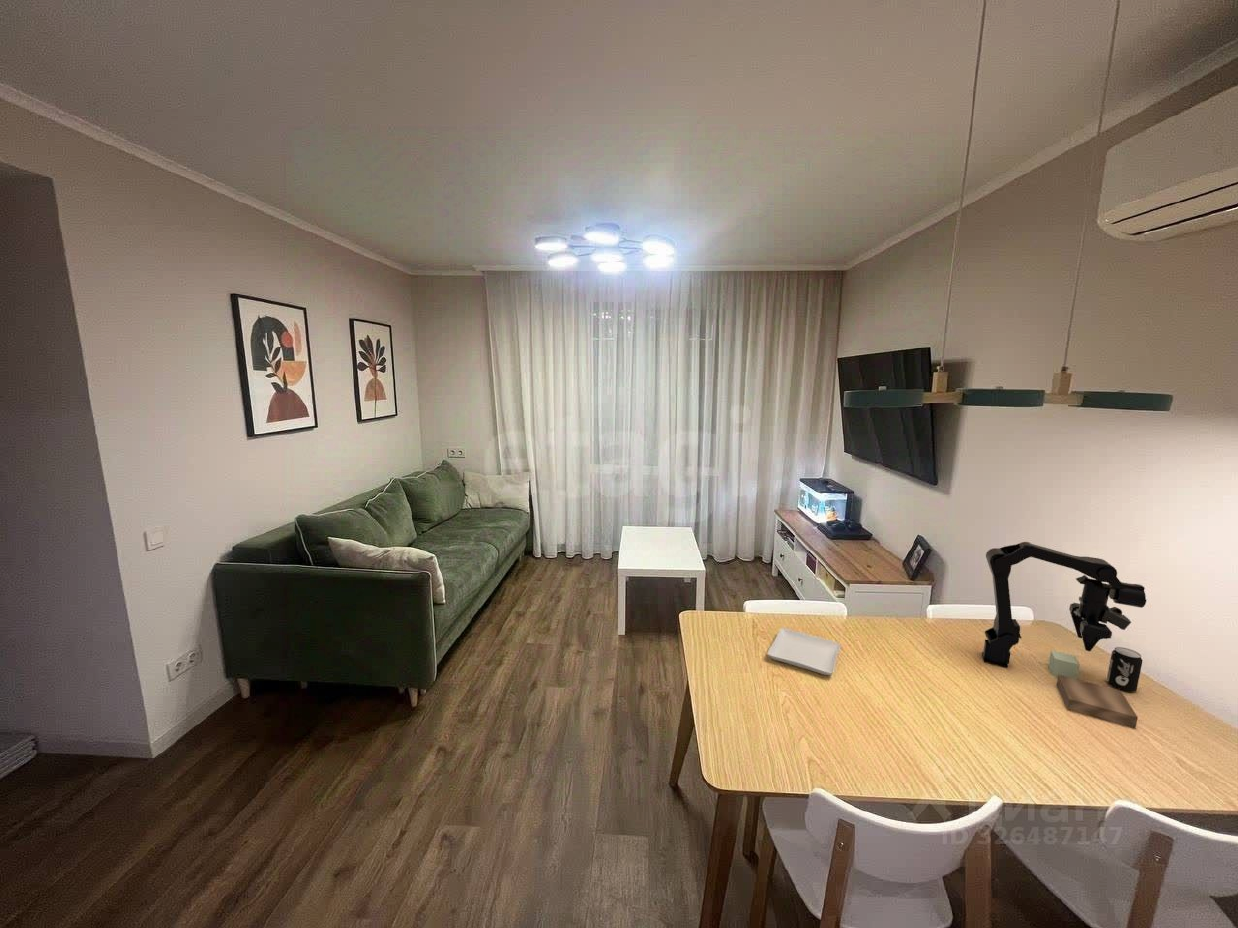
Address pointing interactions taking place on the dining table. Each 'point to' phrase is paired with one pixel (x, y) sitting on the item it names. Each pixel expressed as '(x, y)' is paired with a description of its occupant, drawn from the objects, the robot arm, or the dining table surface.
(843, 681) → the dining table surface
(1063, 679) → the walnut box
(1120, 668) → the beverage can
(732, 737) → the dining table surface
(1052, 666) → the sage cube
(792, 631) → the salad plate
